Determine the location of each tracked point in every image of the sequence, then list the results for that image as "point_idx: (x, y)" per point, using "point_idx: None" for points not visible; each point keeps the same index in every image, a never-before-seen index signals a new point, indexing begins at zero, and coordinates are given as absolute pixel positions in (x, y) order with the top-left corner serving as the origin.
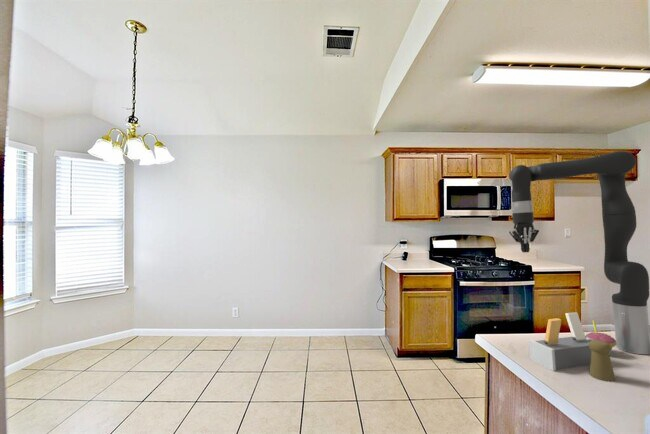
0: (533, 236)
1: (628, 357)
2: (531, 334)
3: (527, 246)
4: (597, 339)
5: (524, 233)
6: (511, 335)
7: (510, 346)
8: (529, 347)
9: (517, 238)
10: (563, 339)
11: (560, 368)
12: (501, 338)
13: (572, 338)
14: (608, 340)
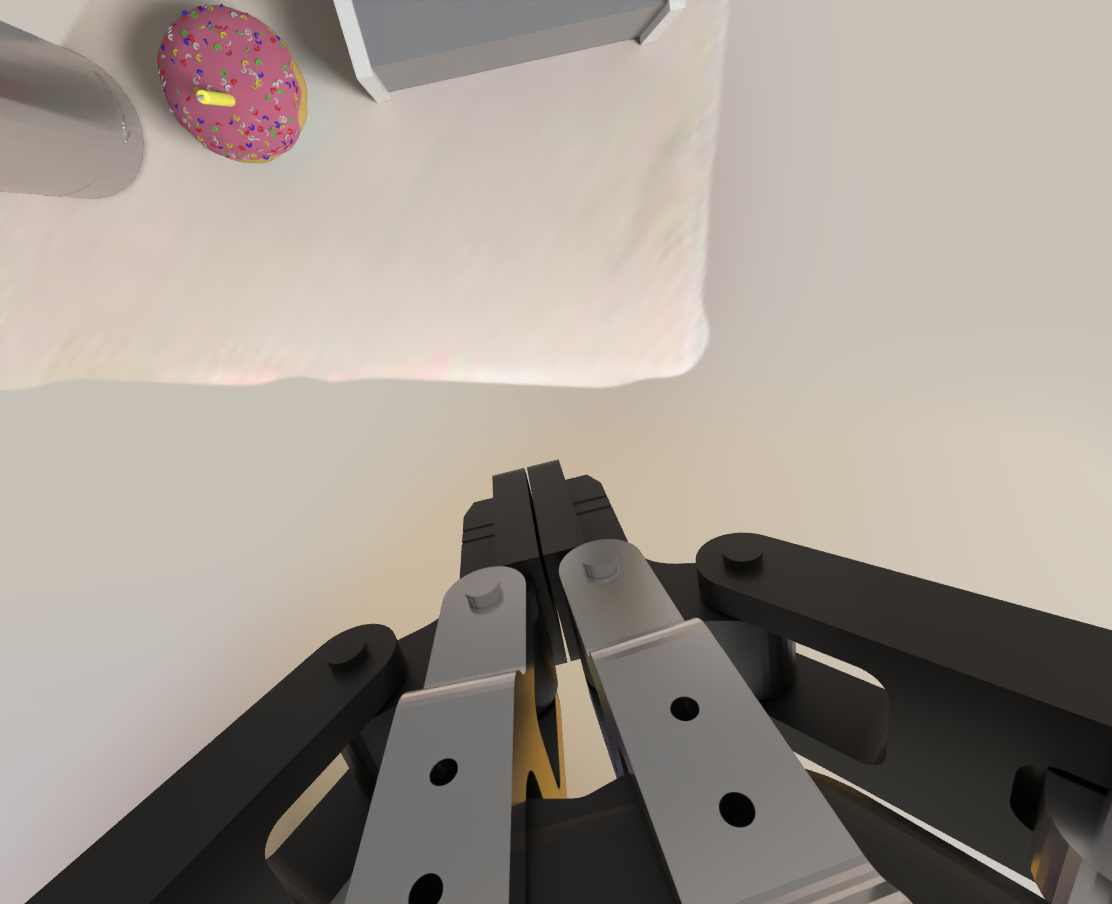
0: (246, 792)
1: (164, 23)
2: (460, 371)
3: (526, 521)
4: (268, 42)
5: (766, 777)
6: (559, 362)
7: (644, 220)
8: (671, 22)
9: (915, 602)
10: (483, 14)
11: None
12: (626, 325)
13: (423, 25)
14: (215, 12)
